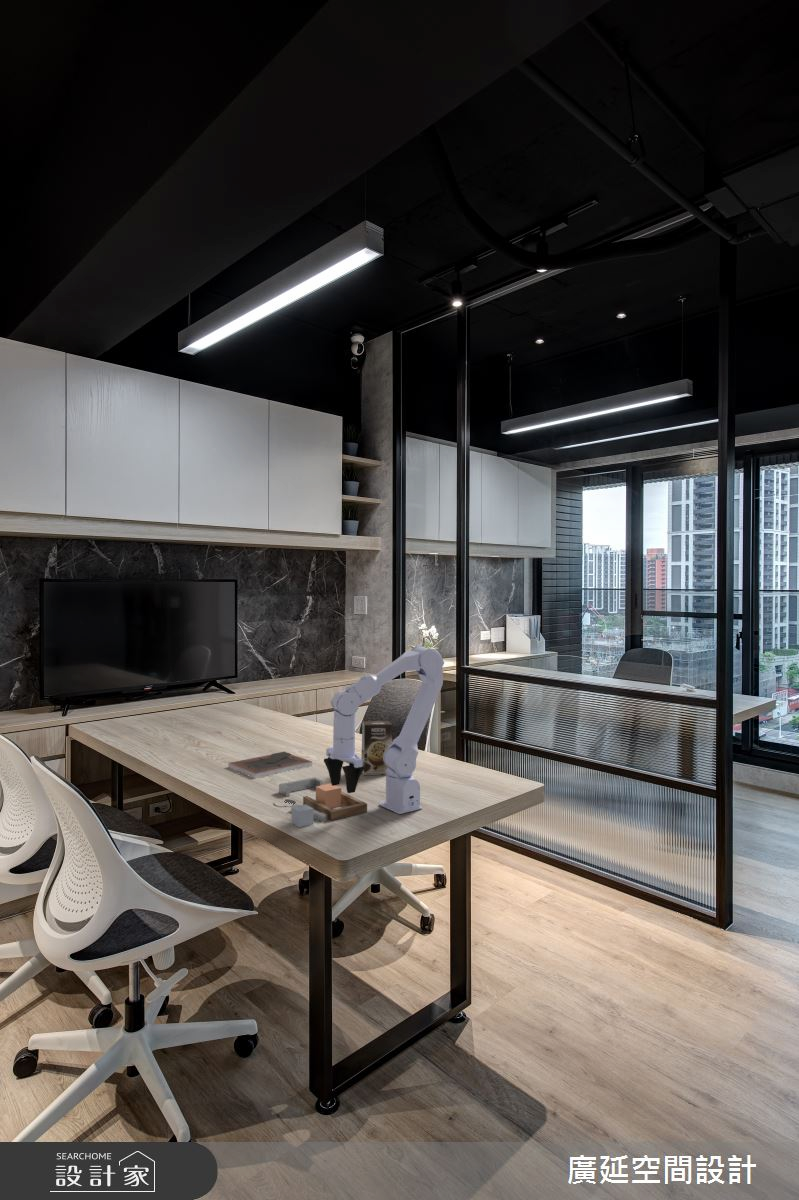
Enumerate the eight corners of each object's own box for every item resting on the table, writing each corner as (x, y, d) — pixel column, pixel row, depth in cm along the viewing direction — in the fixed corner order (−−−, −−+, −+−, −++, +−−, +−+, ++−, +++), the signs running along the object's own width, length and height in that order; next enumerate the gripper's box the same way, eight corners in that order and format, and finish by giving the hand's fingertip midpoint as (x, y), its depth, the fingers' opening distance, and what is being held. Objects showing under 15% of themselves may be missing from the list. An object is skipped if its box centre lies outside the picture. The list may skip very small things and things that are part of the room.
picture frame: (284, 758, 228) (228, 769, 213) (284, 751, 228) (228, 762, 213) (312, 768, 216) (255, 781, 201) (312, 760, 216) (255, 773, 201)
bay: (367, 811, 173) (367, 803, 173) (331, 820, 166) (331, 811, 166) (337, 797, 184) (337, 789, 184) (303, 804, 178) (303, 796, 178)
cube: (340, 806, 177) (341, 787, 177) (325, 809, 174) (325, 791, 174) (331, 801, 181) (331, 783, 181) (315, 804, 178) (315, 786, 178)
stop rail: (323, 789, 192) (323, 781, 192) (286, 796, 184) (286, 788, 184) (315, 785, 195) (315, 777, 195) (278, 792, 188) (279, 784, 188)
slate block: (313, 824, 164) (313, 808, 163) (299, 827, 161) (299, 811, 161) (305, 819, 167) (305, 804, 167) (291, 823, 164) (291, 807, 164)
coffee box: (363, 775, 206) (364, 724, 205) (360, 770, 212) (361, 720, 212) (392, 774, 208) (392, 724, 207) (388, 769, 214) (389, 719, 214)
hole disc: (299, 804, 178) (299, 803, 178) (279, 808, 174) (279, 808, 174) (289, 798, 183) (289, 797, 183) (269, 802, 179) (269, 802, 179)
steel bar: (328, 821, 167) (328, 814, 167) (323, 823, 165) (323, 816, 165) (296, 810, 174) (296, 803, 174) (291, 812, 173) (291, 805, 173)
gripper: (316, 733, 175) (315, 784, 175) (346, 744, 163) (345, 798, 164) (339, 730, 179) (338, 779, 179) (369, 741, 168) (368, 793, 168)
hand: (343, 788), depth 172 cm, fingers open, 7 cm apart
